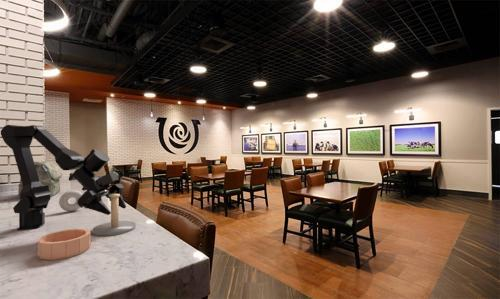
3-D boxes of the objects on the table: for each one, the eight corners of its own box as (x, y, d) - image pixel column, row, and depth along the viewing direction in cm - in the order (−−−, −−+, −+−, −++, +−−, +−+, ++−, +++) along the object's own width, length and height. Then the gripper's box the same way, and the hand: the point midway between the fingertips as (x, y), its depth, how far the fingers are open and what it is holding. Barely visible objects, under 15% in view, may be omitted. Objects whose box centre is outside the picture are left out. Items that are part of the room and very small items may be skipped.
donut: (59, 213, 114) (59, 192, 114) (58, 212, 117) (58, 191, 117) (85, 210, 121) (85, 189, 121) (83, 208, 124) (83, 188, 124)
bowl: (33, 252, 72) (33, 236, 72) (81, 240, 82) (80, 226, 81) (46, 264, 65) (45, 246, 65) (96, 249, 74) (96, 234, 74)
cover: (88, 238, 83) (88, 199, 83) (96, 226, 96) (96, 192, 96) (134, 233, 89) (134, 196, 89) (136, 222, 102) (136, 190, 101)
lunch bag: (53, 197, 152) (53, 161, 152) (14, 200, 145) (14, 162, 144) (64, 190, 176) (63, 159, 176) (31, 192, 168) (30, 160, 168)
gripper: (84, 167, 83) (116, 200, 82) (119, 163, 102) (145, 191, 101) (63, 190, 84) (94, 224, 83) (101, 182, 103) (127, 210, 102)
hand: (117, 210), depth 92 cm, fingers open, 9 cm apart
